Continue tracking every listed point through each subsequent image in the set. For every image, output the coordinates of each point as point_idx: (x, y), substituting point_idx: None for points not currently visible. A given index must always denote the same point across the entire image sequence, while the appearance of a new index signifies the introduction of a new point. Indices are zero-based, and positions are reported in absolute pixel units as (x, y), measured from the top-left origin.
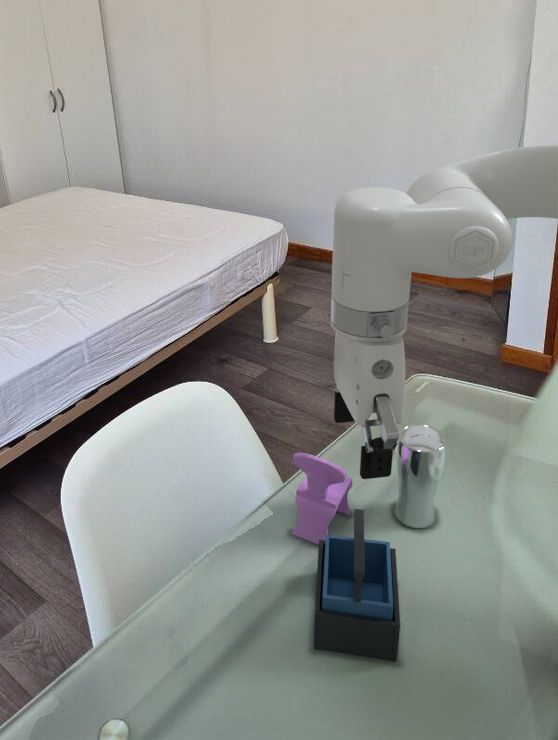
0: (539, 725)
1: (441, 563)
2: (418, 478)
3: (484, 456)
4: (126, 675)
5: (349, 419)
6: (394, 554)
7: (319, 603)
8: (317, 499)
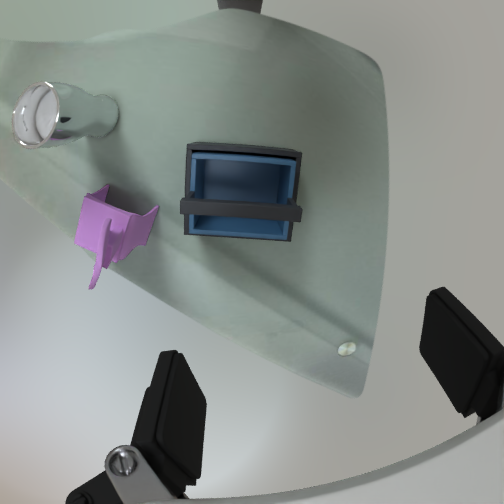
0: (339, 48)
1: (164, 89)
2: (85, 115)
3: (27, 54)
4: (308, 352)
5: (193, 383)
6: (196, 145)
7: None
8: (123, 237)
